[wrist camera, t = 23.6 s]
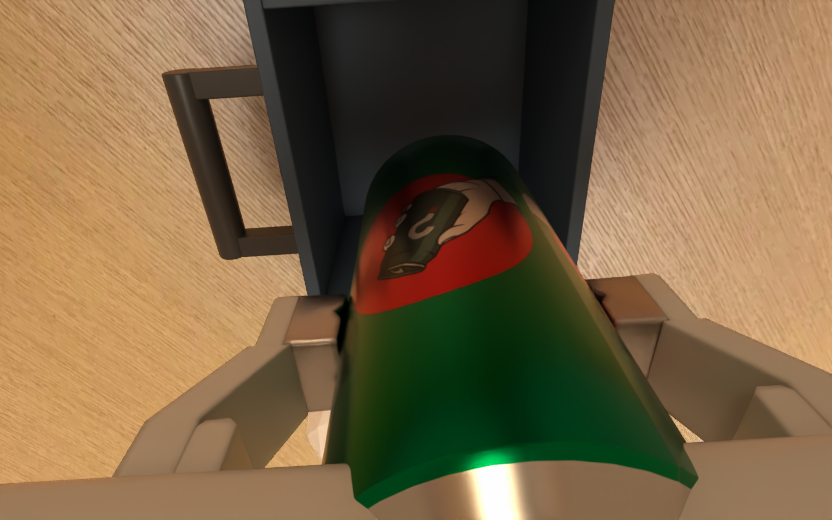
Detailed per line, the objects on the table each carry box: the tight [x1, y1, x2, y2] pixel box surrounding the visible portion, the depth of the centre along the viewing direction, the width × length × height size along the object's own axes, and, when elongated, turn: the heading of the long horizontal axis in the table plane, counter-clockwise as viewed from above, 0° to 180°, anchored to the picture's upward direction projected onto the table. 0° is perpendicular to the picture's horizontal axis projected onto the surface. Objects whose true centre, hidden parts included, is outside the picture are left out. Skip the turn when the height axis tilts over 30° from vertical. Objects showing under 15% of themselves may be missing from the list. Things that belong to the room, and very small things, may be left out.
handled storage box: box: [162, 0, 615, 299], centre depth 22 cm, size 16×13×10 cm
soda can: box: [322, 135, 699, 520], centre depth 10 cm, size 5×5×12 cm
